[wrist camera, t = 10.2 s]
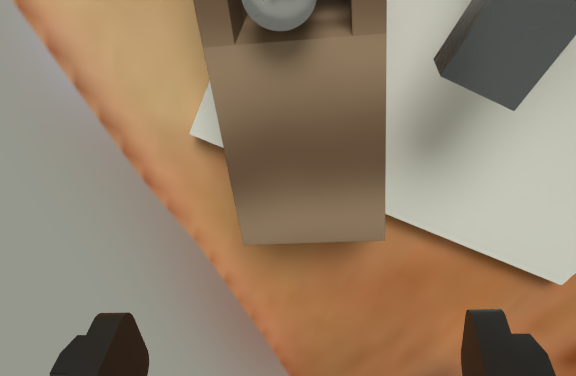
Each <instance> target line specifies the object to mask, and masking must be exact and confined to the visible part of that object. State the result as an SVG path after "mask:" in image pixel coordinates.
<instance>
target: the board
mask: <svg viewBox="0 0 576 376" xmlns="http://www.w3.org/2000/svg"><path fill="white" fill-rule="evenodd" d="M470 2H471V0H387V43H386V179H385V214H387V215H390V216H392V217H394V218H397V219H399V220H402V221H404V222H407V223H409V224H412V225H414V226H417V227H419V228H422V229H424V230H426V231H429V232H431V233H434V234H436V235H439V236H441V237H444V238H446V239H449V240H451V241H453V242H456V243H458V244H461V245H463V246H466V247H468V248H471V249H473V250H476V251H478V252H481V253H483V254H485V255H488V256H490V257H493V258H495V259H498V260H500V261H503V262H505V263H508V264H510V265H513V266H515V267H517V268H520V269H522V270H525V271H527V272H530V273H532V274H535V275H537V276H540V277H542V278H544V279H547V280H549V281H552V282H554V283H557V284H559V285H562V284H563V283H565V282H566V281H567V280H568V279H569V278H570V277H571V276H573V275H574V274H575V273H576V35H575V37H574V38H573V39H572V40H571V42H570V43H569V44H568V45H567V47H566V48H565V49H564V50H563V52H562V53H561V54H560V55H559V57H558V58H557V59H556V60H555V61H554V63H553V64H552V65H551V66H550V68H549V69H548V70H547V71H546V73H545V74H544V75H543V76H542V78H541V79H540V80H539V81H538V83H537V84H536V85H535V86H534V87H533V89H532V90H531V91H530V92H529V94H528V95H527V96H526V97H525V99H524V100H523V101H522V102H521V104H520V105H519V106H518V107H517V109H516V110H515V111H512V110H510V109H508V108H506V107H504V106H502V105H500V104H498V103H496V102H493V101H491V100H489V99H487V98H485V97H483V96H481V95H479V94H477V93H475V92H472V91H470V90H468V89H466V88H464V87H462V86H460V85H458V84H456V83H453V82H451V81H449V80H447V79H445V78H443V77H441V76H440V74H439V72H438V69H437V67H436V65H435V62H434V60H433V59H434V57H435V56H436V54H437V53H438V51H439V50H440V48H441V46H442V45H443V43H444V42H445V40H446V39H447V37H448V36H449V34H450V33H451V31H452V30H453V28H454V27H455V25H456V23H457V22H458V20H459V19H460V17H461V16H462V14H463V13H464V11H465V10H466V8H467V7H468V5H469V4H470ZM190 135H193V136H195V137H198V138H200V139H203V140H205V141H208V142H210V143H212V144H215V145H217V146H220V147H222V148H224V147H223V142H222V138H221V133H220V128H219V123H218V118H217V113H216V108H215V104H214V99H213V94H212V89H211V84H210V81H209V84H208V87H207V89H206V92H205V94H204V97H203V100H202V102H201V105H200V108H199V110H198V113H197V115H196V118H195V121H194V123H193V126H192V128H191V131H190Z"/></svg>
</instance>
